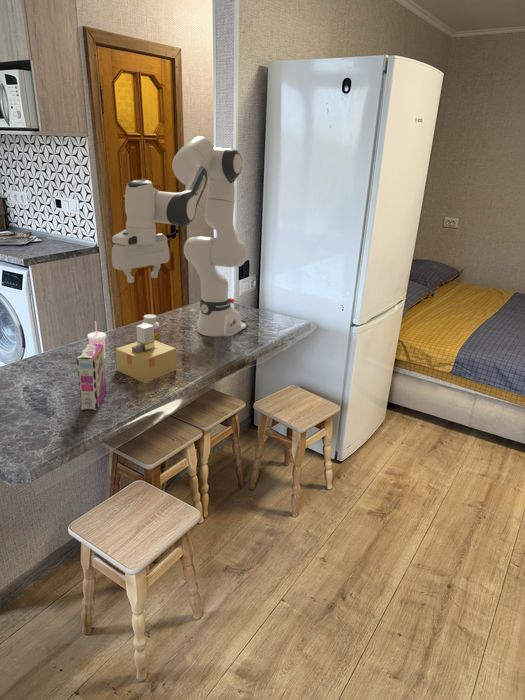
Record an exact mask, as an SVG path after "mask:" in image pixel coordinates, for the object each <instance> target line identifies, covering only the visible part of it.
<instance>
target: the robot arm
mask: <svg viewBox="0 0 525 700" xmlns="http://www.w3.org/2000/svg"><path fill="white" fill-rule="evenodd" d="M242 159H243V158H242V155H241V154H240V152H239V151H238V150H237V149H234V148H230V147H227V148H225V147H224V148H223V147H214V145H213V143H212V142H211V141H210V140H209V139H208V138H206V137H205V136H201V135H199V136H198V135H197V136H195V137H192V138H191V139H190V140H189V141H187V142H186V143H185V144H184V145H183V146H182V147H181V148H180V149H179V150H178V151H177V153H176V154H175V155H174V157H173V159H172V162H171V167H172V171H173V174H174V177H176V179H177V180H178V181H179V182H181V183H182V184H183V185H185V186H186V187H185V189H184V190H183V191H180V192H178V191H177V192H171V191H161V190H159V189H156V188H155V187H154V185H153V182H152V181H150V180H148V179H133V180H130V181H129V182H127V184H126V187H125V191H124V192H125V193H124V211H125V215H126V223H125V229H123V230H121V231H120V232H117V233H116V234H114V235H113V236H112V238H111V240H112V243H114V244H113V246H112V247H111V263H112V264H111V265H112V267H113V268H114V269H115V270H118V271H123V273H124V275H125V276H126V280H127V281H126V282H127V283H129V284H131V283H132V284H133V283H135V276H132V269H135V268H143V267H149V266H153V269H152V271H150V277H151V279H157V278H158V275H159V271H160V269H161V264H166V263H169V260H170V248H169V244H168V237H167V236H166V235H165V234H164V233H157V229H156V228H157V227H156V226H157V225H156V223H158V224H159V223H160V224H166V225H167V224H168V225H173V226H177V227H181V228H183V227H187V226H188V225H190V224H191V223H192V222H193V220H194V219H195V216H196V214H197V213H196V212H197V207H198V205H199V203H200V201H201V199H202V196H203V193H204V191H205V189H206V186H207V183H208V180H209V183H208V186H207V192H206V193H207V194H206V200H205V209H204V210H205V211H204V220H205V221H204V222H205V223H206V225H207V226H209V227H210V228H212V229H214V230H215V231H216V237H214V236H213V237H212V236H203V235H202V236H201V235H200V236H191V237H188V239H186V241H185V242H184V245H183V255H184V257H185V258H186V260H187V262H189V263H190V264H191V265H192V266H193V267H194V269H195V270H196V272H197V274H198V277H199V281H200V298H199V307H200V309H199V312H198V313H199V314H198V315H199V316H198V321H197V324H196V327H197V329H196V332H197V333H199V334H200V335H203V336H206V337H232V336H234V335H236V334H238V333H239V332H241V331H242V330H244V329H246V328H247V324H246V323H245V322H242V317H241V313H240V312H239V311H237V310H236V309H235V308H234V307H232V305H231V304H234V303H235V302H236V299H235V298H232V297H229V281H228V279H227V278H226V276H224V275H223V274H221V273H220V272H219V271H218V270H217V267H223V268H237V267H241V266H243V265H244V263H246V261H247V257H248V249H247V246H246V245H245V243H244V242H243V241H242V240H241V239H240V238H239V236H238V235H237V233H236V231H235V227H234V208H235V200H236V199H235V198H236V192H235V191H236V190H235V181H236V179H237V178H238V177H239V175H241V172H242V170H243V169H242V167H243V160H242Z"/></svg>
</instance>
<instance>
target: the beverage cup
mask: <svg viewBox="0 0 525 700" xmlns="http://www.w3.org/2000/svg"><path fill="white" fill-rule="evenodd" d="M97 324H98V323H97V320H94V329H95V331H92V332H89V333H88V334H87V338H88V344H102V345H103V349H104V360H105V359H106V337H107V334H106V332H103V331H98V326H97Z"/></svg>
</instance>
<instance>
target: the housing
mask: <svg viewBox="0 0 525 700" xmlns="http://www.w3.org/2000/svg"><path fill="white" fill-rule="evenodd" d="M154 341H155V340H154ZM154 344H155V349H154V350H151V351H148V352H143V348H142V347H140V346H137V341H135V342H132V343H129V344H126V345H123V346H120V347H116V348H115V357H116V358H115V359H116V360H115V361H116V370H117V372H120V373H122V374H124V375H126V376H129V377H130V378H132V379H135V380H137V381H139V382H142V383H143V384H145V383H148V382H150V381H153V380H156V379H158V378H161V377H162V376H165V375H167V374H170V373H171V372H174V371H177V348H176V347H173V346H171V345H168V344H165V343H163V342H161V341H160V342H158V341H155V342H154Z"/></svg>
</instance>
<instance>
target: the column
mask: <svg viewBox="0 0 525 700" xmlns="http://www.w3.org/2000/svg"><path fill="white" fill-rule="evenodd" d="M135 327H136V342H137V346H140V347H142V348H143V352H148V351H151V350H154V349H155V344H154V342H155V341H154V326H153V325H150V324H147V323H144V324H142V323H141V324H138V325H136V326H135Z"/></svg>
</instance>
